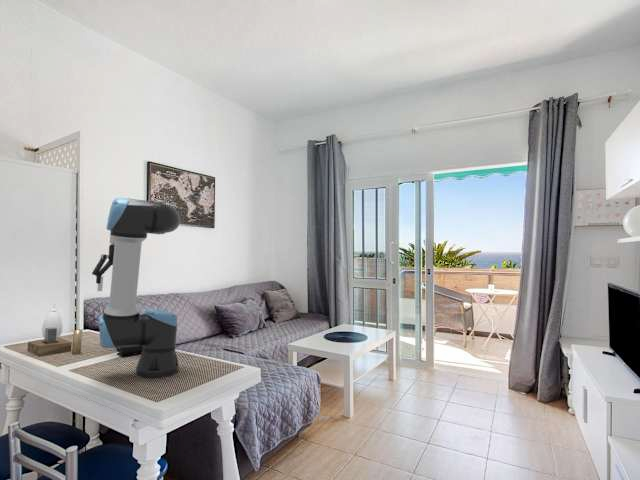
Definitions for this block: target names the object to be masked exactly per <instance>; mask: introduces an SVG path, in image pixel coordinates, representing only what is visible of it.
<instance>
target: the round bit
mask: <svg viewBox="0 0 640 480" xmlns="http://www.w3.org/2000/svg"><path fill="white" fill-rule="evenodd" d="M83 331H84V330H83V329H74V330H73V334H72V335H73V337H72V345H71V355H72V356H73V355H74V356H75V355H80V354H81V351H82V342H83Z"/></svg>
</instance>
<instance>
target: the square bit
mask: <svg viewBox="0 0 640 480" xmlns="http://www.w3.org/2000/svg"><path fill="white" fill-rule="evenodd" d="M56 333H57V328H55V327H52V328H46V329H45V339H43V340H44V344H50V343H56Z"/></svg>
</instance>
